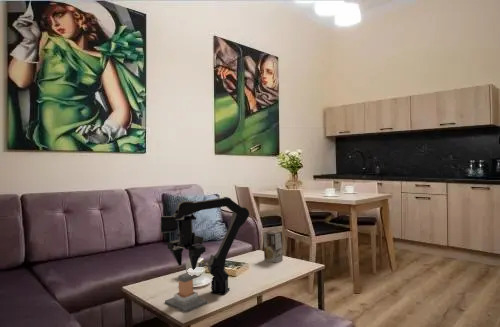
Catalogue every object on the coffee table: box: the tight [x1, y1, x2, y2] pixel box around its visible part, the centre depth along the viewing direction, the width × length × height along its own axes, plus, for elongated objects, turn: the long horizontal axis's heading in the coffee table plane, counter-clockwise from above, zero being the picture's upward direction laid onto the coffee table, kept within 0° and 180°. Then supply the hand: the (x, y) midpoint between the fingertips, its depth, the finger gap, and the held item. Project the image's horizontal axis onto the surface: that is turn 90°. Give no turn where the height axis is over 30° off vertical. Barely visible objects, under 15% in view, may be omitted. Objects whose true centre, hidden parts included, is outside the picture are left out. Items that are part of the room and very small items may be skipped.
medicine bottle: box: [185, 252, 205, 274], centre depth 164 cm, size 7×7×12 cm
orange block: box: [178, 273, 194, 297], centre depth 130 cm, size 4×4×10 cm
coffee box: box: [262, 230, 284, 264], centre depth 183 cm, size 9×6×16 cm
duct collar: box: [164, 290, 209, 314], centre depth 130 cm, size 14×11×4 cm
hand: (186, 267), depth 136 cm, fingers open, 9 cm apart
